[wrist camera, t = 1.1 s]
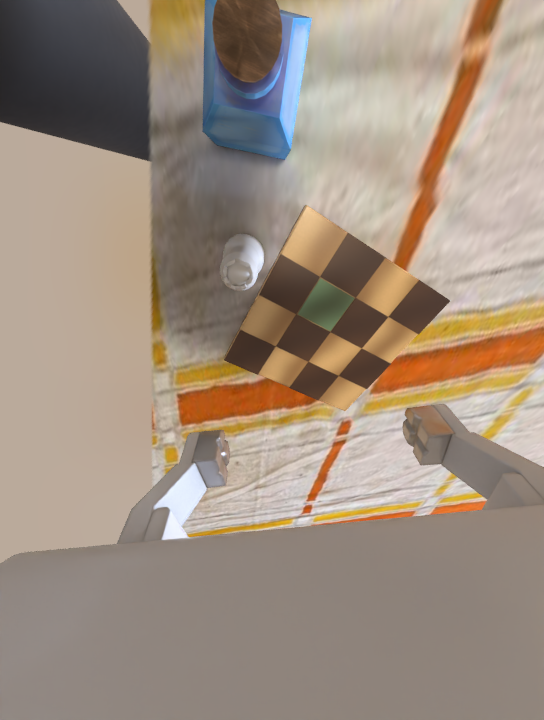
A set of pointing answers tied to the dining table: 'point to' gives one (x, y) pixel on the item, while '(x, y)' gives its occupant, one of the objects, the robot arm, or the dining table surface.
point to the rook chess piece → (241, 262)
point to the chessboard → (331, 314)
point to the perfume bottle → (252, 74)
